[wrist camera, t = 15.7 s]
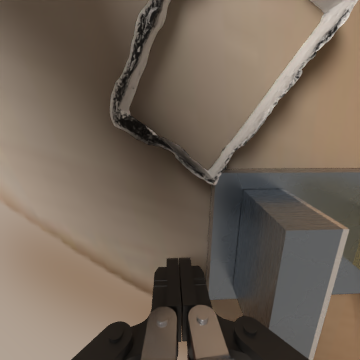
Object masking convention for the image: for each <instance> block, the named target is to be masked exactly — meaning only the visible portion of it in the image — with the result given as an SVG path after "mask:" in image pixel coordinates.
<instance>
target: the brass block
mask: <svg viewBox="0 0 360 360" xmlns="http://www.w3.org/2000/svg"><path fill="white" fill-rule="evenodd" d="M353 265H354V266H356V267H357V268H358V269H359V270H360V241H359V244H358V248H357V251H356V255H355V258H354V261H353Z"/></svg>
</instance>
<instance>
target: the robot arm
mask: <svg viewBox="0 0 360 360" xmlns="http://www.w3.org/2000/svg"><path fill="white" fill-rule="evenodd" d="M181 326H182V341H187V348H188V355H187V358H188V360H309V359H308V358H306V357H305V356H304V355H303V354H301V353H300V352H299V351H297V350H296V349H295V348H293V347H292V346H291V345H289V344H288V343H287V342H285V341H284V340H283V339H281V338H280V337H279V336H277V335H276V334H275V333H273V332H272V331H271V330H269V329H268V328H267V327H265V326H264V325H263V324H261V323H260V322H259V321H257V320H256V319H254V318H252V317H249V316H242V317H240V318H238V319H237V320H236V321H235V322H233V321H229V320H225V319H223V318H221V317H219V316H218V315H217V314H216V313H215V312H214V311H213V309H212V306H211V302H210V298H209V293H208V289H207V285H206V281H205V276H204V272H203V270H202V269H201V268H200V267H199V266H191V260H190V258H179V264H178V258H167V267H158V269H157V270H156V272H155V275H154V287H153V299H152V309H151V313H150V315H149V316H148V318H147V319H146V320H145V321H143V322H142V323H140V324H138V325H135V326H132V327H130V326H129V325H128V324H127V323H125V322H115V323H112V324H110V325H109V326H107V327H106V328H105V329H104V330H103V331H102V332H101V333H100V334H99V335H98V336H97V337H95V338H94V339H93V340H92V341H91V342H90V343H89V344H88V345H87V346H86V347H85V348H83V349H82V350H81V351H80V352H79V353H78V354H77V355H76V356H75V357H74V358H73V359H72V360H177V357H178V342H181Z"/></svg>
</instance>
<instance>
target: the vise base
mask: <svg viewBox="0 0 360 360" xmlns="http://www.w3.org/2000/svg"><path fill="white" fill-rule="evenodd" d="M269 189H285V190H287V191H288V192H290V193H291V194H293V195H295V196H296V197H298V198H300V199H301V200H303V201H304V202H306V203H308V204H309V205H311V206H313V207H314V208H316V209H317V210H319V211H321V212H322V213H324V214H326V215H327V216H329V217H331V218H332V219H334V220H335V221H337V222H339V223H340V224H342V225H344V226H345V227H347V228H348V229H349V233H348V236H347V240H346V244H345V247H344V251H343V254H342V258H341V262H340V265H339V269H338V272H337V276H336V279H335V283H334V287H333V290H332V294H354V293H360V270H359V269H358V268H357V267H356V266H354V265H353V261H354V258H355V255H356V251H357V248H358V244H359V241H360V168H303V169H225V170H224V171H223V172H222V173H221V175H220V176H219V180H218V182H217V184H216V185H213V184H211V201H210V219H209V236H208V253H207V270H206V285H207V289H208V293H209V298H210V300H217V299H237V297H236V295H235V292H234V290H233V284H234V274H235V265H236V255H237V246H238V236H239V227H240V218H241V208H242V199H243V190H269Z"/></svg>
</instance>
